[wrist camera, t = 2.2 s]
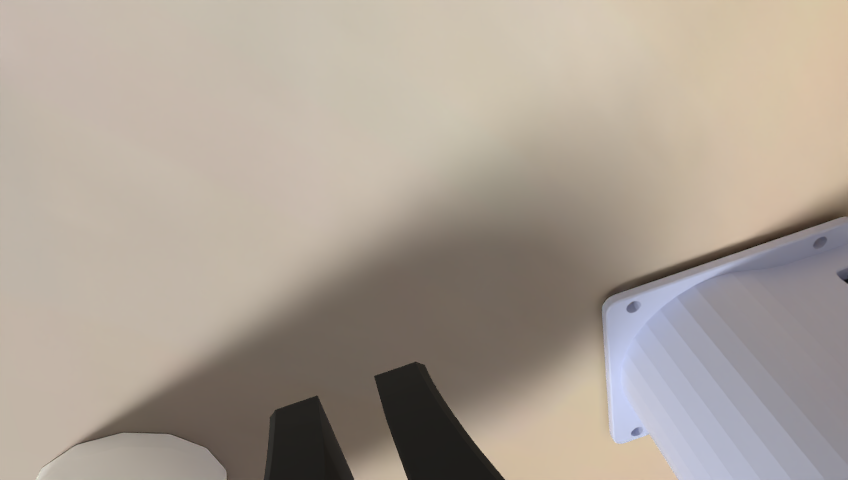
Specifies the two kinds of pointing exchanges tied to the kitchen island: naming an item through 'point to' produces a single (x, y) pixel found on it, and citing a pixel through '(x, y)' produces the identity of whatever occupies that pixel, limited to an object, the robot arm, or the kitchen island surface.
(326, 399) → the kitchen island surface
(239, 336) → the kitchen island surface
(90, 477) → the foam cup
